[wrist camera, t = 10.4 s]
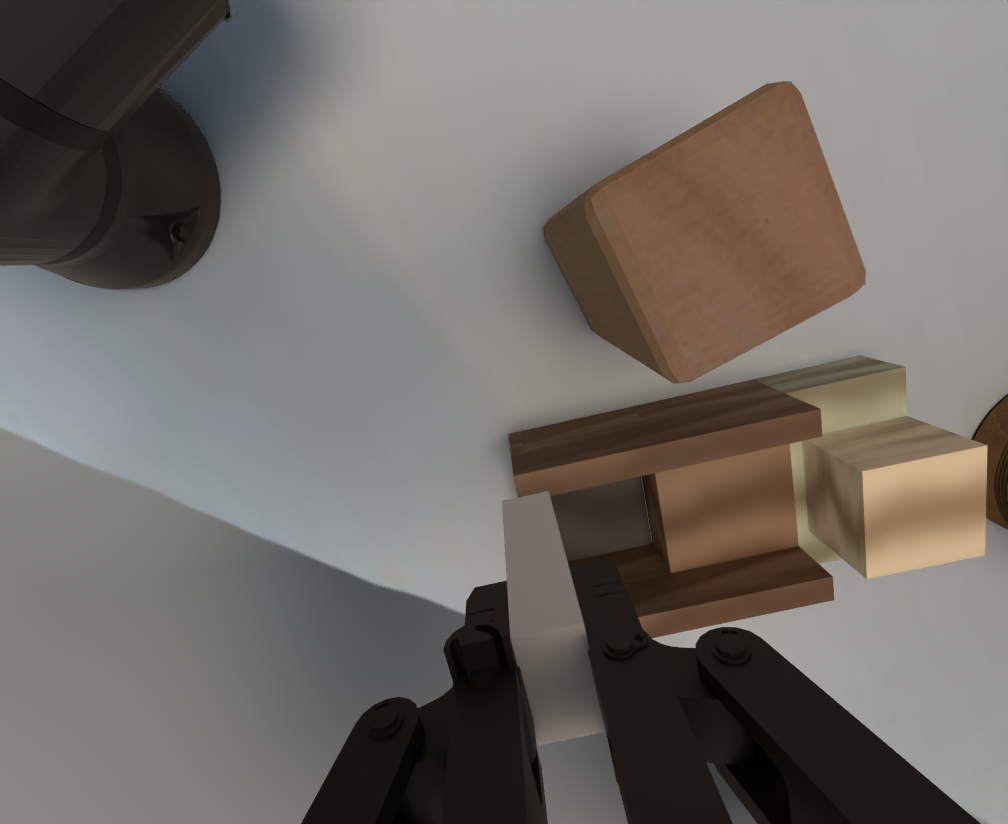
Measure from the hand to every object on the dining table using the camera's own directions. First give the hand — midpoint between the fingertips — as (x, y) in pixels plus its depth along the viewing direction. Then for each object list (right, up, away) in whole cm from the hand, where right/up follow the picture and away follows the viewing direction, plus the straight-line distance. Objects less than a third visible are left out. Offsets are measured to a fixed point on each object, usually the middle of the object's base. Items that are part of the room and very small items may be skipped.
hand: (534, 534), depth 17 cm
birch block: (+27, -1, +25) cm, 37 cm away
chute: (+16, -2, +30) cm, 34 cm away
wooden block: (+8, +16, +26) cm, 31 cm away
